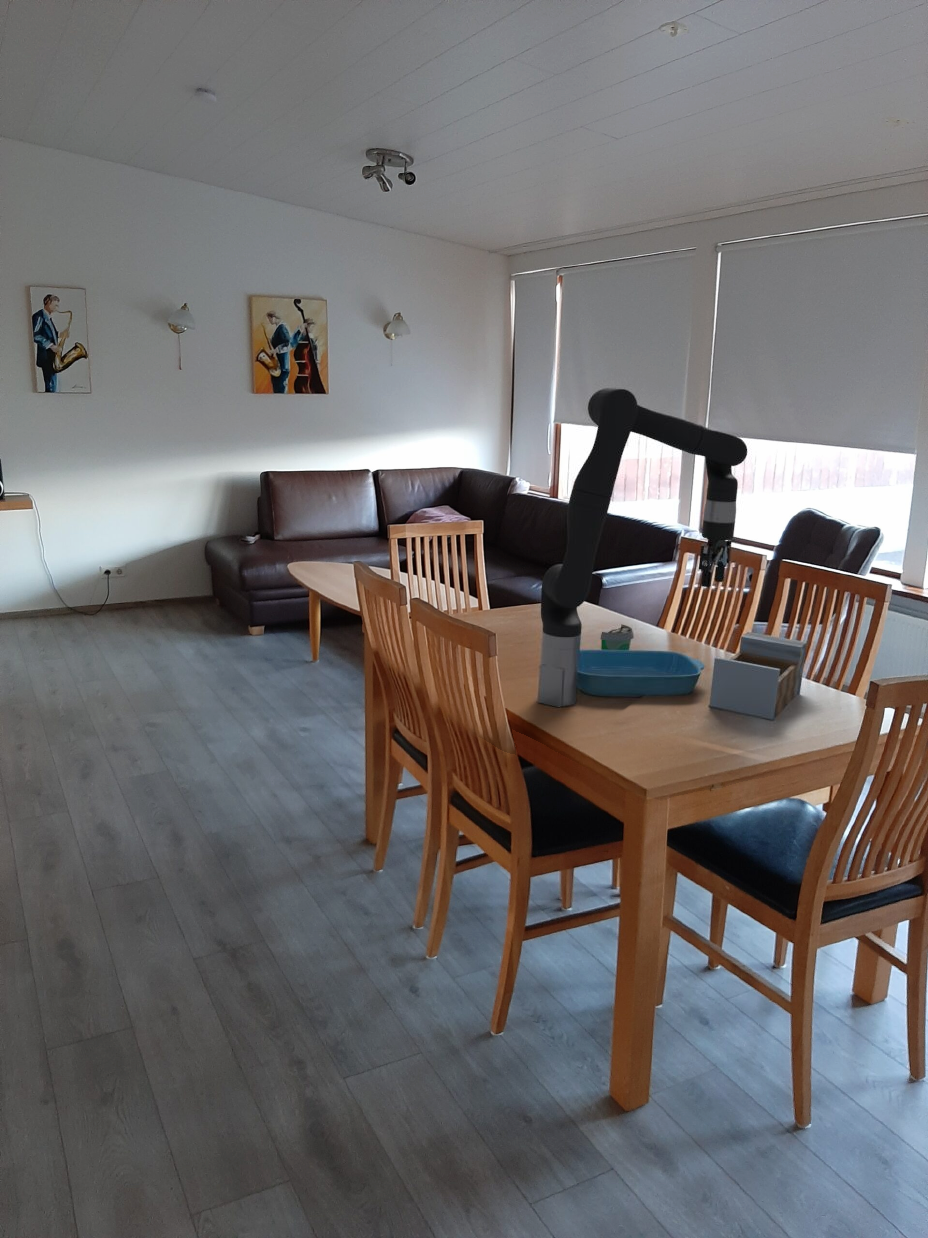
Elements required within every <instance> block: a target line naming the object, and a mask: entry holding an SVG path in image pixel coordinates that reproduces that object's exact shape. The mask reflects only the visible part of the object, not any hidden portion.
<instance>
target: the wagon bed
mask: <svg viewBox="0 0 928 1238" xmlns="http://www.w3.org/2000/svg"><path fill="white" fill-rule="evenodd" d="M807 643H808V641H803V640H797V639H790V638H784V637H779V636H773V635H768V634H761V633H755V632H750V631H746V632H745V633H744V634H743V635H741V636H740V643H739V651H738V652H737V653H736V654H734V655H733V656H731V657H730V658H729V659H730V660H735V661H740V662H746V663H751V664H756V665H761V666H767V667H772V668H777V669H780V674H779V682H778V689H777V697H776V705H775V712H774V718H775V719H776V717H778V716H779V714H780V713H782V711H783V710H784V709H785V708H786V707H787V706H788V705H789V704H790V703H791V701H792V700H793V699H794V698H795V697H796V696H799V694H800V695H801V688H802V682H803V681H802V680H803V673H804V665H805V658H806V652H807Z"/></svg>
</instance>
